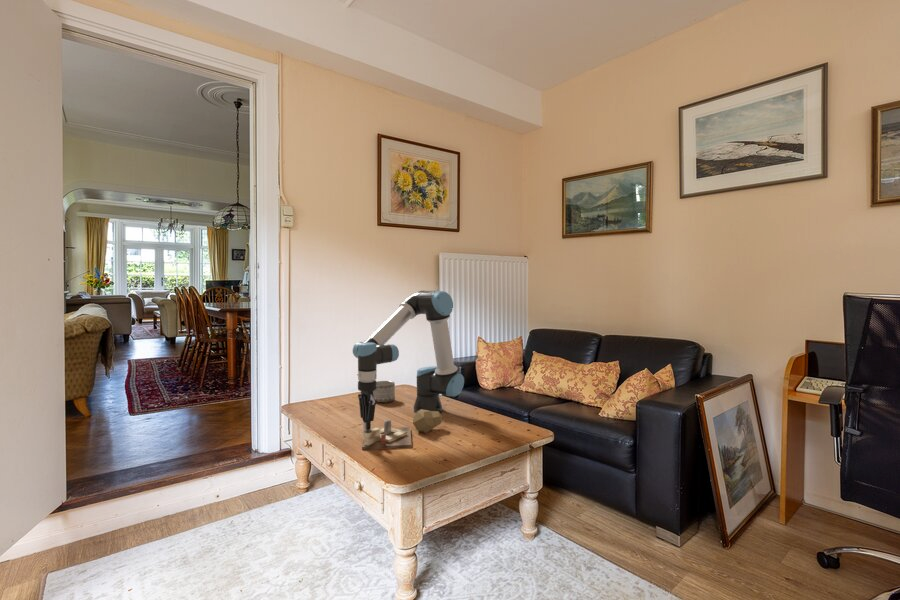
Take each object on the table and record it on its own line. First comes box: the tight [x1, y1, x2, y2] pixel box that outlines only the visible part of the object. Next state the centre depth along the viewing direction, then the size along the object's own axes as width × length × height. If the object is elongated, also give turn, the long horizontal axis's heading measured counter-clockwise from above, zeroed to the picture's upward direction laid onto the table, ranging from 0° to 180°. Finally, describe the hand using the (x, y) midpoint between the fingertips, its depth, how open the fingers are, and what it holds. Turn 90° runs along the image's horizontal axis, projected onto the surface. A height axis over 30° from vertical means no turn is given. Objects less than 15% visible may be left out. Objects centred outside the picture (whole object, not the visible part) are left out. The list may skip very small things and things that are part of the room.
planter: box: [373, 380, 396, 404], centre depth 250 cm, size 13×13×10 cm
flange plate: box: [363, 427, 407, 445], centre depth 186 cm, size 19×12×5 cm, turn 146°
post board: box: [361, 419, 412, 451], centre depth 189 cm, size 20×22×8 cm
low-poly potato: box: [412, 409, 443, 434], centre depth 200 cm, size 15×11×12 cm
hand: (366, 436), depth 182 cm, fingers closed
